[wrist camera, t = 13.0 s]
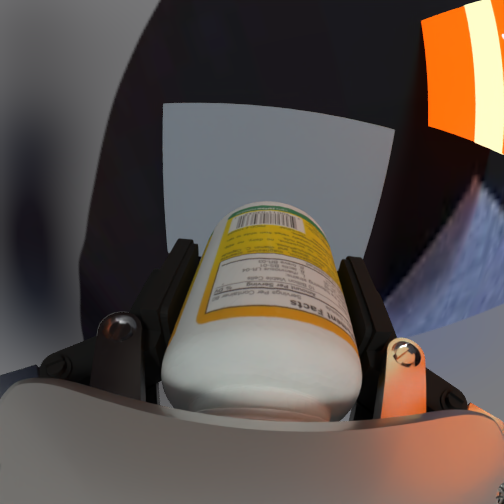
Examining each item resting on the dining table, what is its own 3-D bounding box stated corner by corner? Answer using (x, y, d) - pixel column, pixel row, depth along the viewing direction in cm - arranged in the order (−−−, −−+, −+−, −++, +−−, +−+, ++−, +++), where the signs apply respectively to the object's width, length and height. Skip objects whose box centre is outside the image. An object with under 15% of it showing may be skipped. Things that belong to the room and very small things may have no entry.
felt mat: (391, 129, 17) (394, 130, 16) (356, 268, 23) (358, 272, 22) (166, 103, 17) (163, 103, 17) (170, 249, 23) (167, 252, 23)
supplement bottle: (274, 171, 10) (274, 444, 2) (350, 260, 12) (412, 475, 4) (183, 249, 13) (94, 457, 4) (262, 317, 14) (248, 506, 6)
